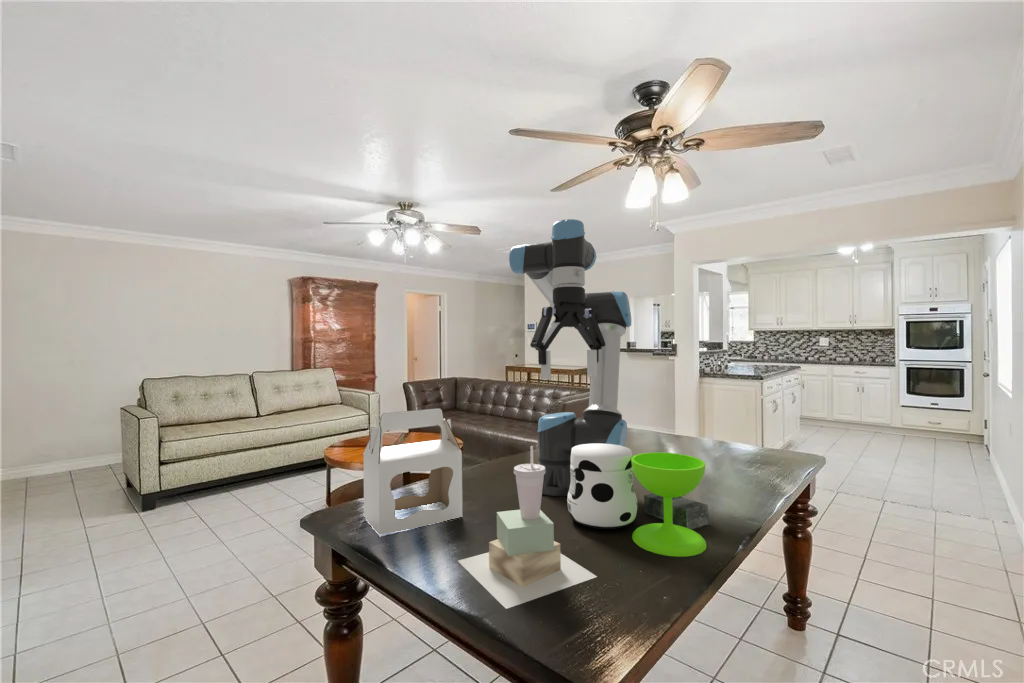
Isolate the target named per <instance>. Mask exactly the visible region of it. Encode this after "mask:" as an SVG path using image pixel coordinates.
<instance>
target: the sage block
mask: <svg viewBox="0 0 1024 683" xmlns="http://www.w3.org/2000/svg"><path fill="white" fill-rule="evenodd" d="M554 526H555V523H554V522H553V521H552V520H551V519H550V518H549V517H548V516H547V515H546V514H545V513H544V512H543V511H542V510H541V509H540V516H539V518H537V519H533V520H527V519H523V518H522V517H521V513H520V509H514V510H513V509H512V510H504V511H496V537H497V539H499V541H500V543H501V544H502V546H503V548H504V549H505V551H506V553H507V555H508V556H513V555H520V554H528V553H535V552H542V551H549V550H554V541H555V535H554V534H555V531H554V530H555V529H554Z"/></svg>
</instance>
